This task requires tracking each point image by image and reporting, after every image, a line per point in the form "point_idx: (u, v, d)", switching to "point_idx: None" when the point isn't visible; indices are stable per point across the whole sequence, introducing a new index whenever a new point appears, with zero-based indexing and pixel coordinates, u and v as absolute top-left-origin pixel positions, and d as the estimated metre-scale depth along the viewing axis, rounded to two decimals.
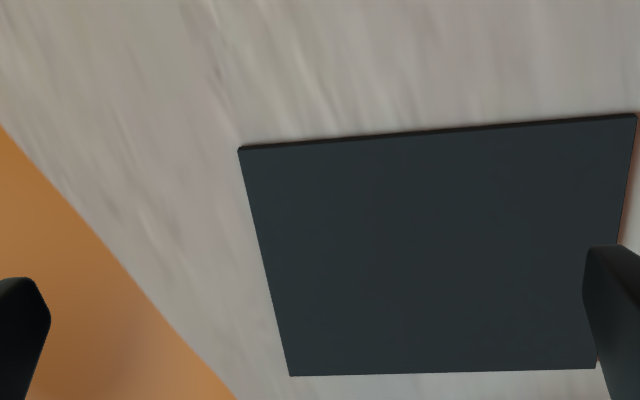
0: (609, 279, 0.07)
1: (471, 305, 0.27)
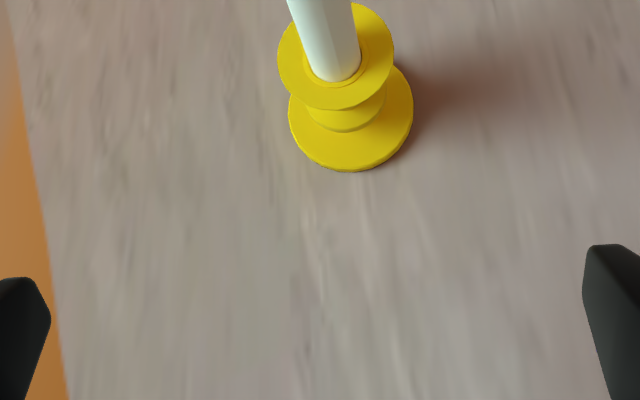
0: (609, 279, 0.07)
1: None
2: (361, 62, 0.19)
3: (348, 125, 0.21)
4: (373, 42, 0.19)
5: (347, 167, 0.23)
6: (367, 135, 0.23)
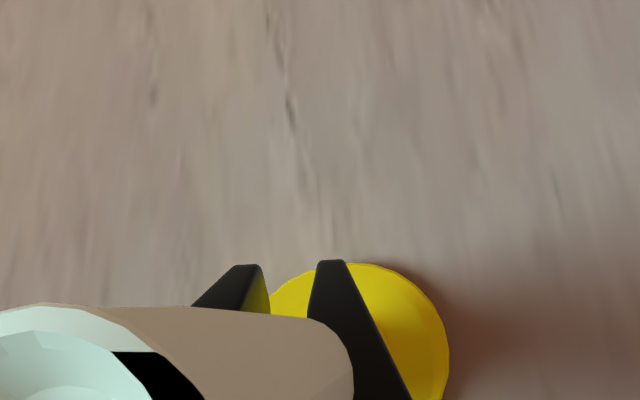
0: None
1: None
2: None
3: None
4: (400, 343, 0.11)
5: None
6: None
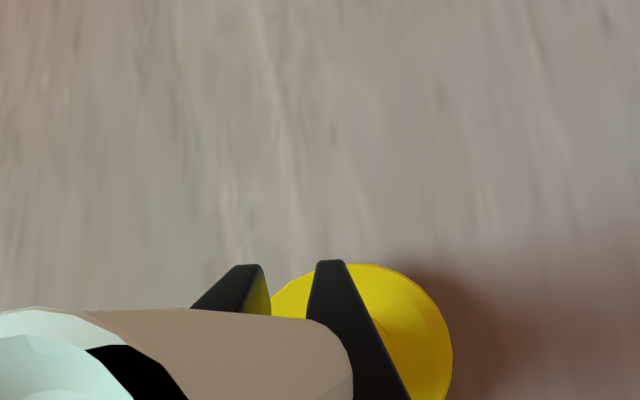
0: None
1: None
2: None
3: None
4: (403, 346, 0.11)
5: None
6: None
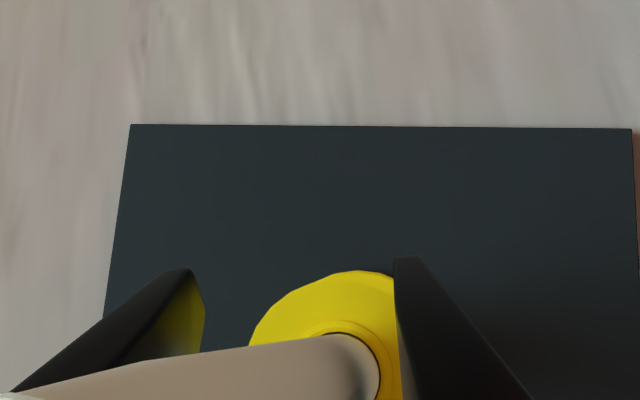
0: None
1: None
2: (379, 391, 0.11)
3: None
4: None
5: None
6: None
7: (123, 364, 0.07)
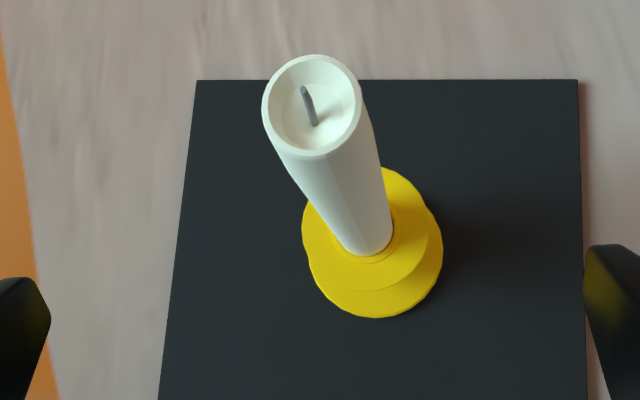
0: (609, 279, 0.07)
1: None
2: (393, 236, 0.17)
3: None
4: (407, 216, 0.17)
5: (368, 315, 0.21)
6: None
7: None
